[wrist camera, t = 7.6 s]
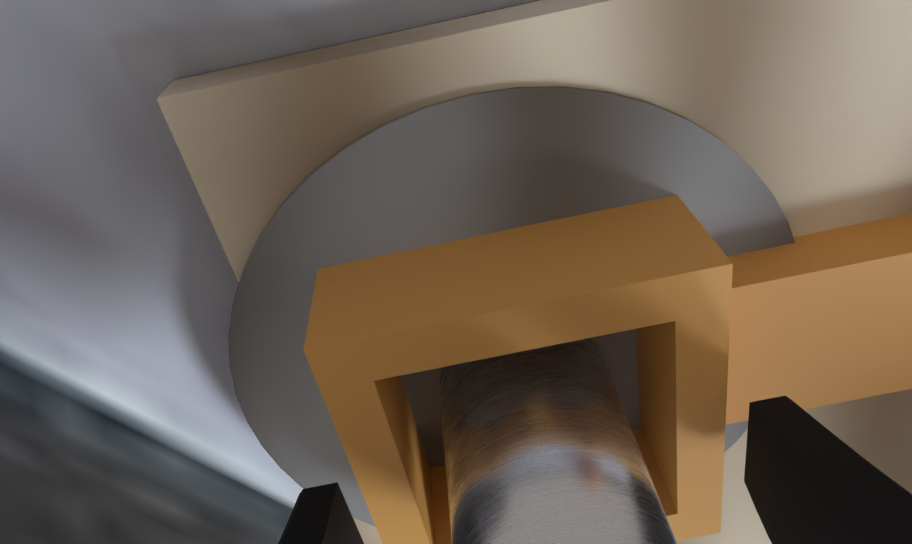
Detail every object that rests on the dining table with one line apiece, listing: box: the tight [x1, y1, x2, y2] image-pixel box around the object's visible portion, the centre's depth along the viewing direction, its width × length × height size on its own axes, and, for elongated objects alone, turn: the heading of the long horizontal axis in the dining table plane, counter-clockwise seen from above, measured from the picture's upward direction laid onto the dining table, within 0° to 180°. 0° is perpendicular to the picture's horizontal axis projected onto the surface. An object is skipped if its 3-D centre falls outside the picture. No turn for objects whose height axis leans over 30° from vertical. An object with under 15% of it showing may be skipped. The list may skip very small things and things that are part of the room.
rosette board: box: [156, 0, 912, 544], centre depth 15 cm, size 17×16×1 cm
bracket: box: [303, 195, 912, 544], centre depth 13 cm, size 14×7×3 cm, turn 101°
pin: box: [440, 338, 677, 544], centre depth 12 cm, size 4×4×6 cm
